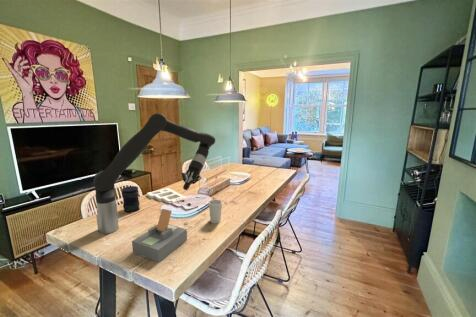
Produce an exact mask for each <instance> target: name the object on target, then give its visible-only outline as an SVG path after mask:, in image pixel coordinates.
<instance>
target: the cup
mask: <svg viewBox="0 0 476 317" xmlns="http://www.w3.org/2000/svg"><path fill="white" fill-rule="evenodd" d="M222 204H223V201H222V200H221V199H211V200H209V201H208V210H209V211H208V212H209V219H210V220H209V221H210V222H211V223H212V224H219V223H220V222H221V221H222V219H221V218H222V207H223V206H222Z"/></svg>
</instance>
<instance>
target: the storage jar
mask: <svg viewBox="0 0 476 317" xmlns="http://www.w3.org/2000/svg"><path fill="white" fill-rule="evenodd" d="M121 192H122V193H121V195H122V199H123V200H122V201H123V203H122V206H123V212H124V213H126V214H133V213H136V212H138V211H139V210H141V208H140V199H139V193H140V192H139V187H138V186H134V185H132V186H125V187H122V188H121Z"/></svg>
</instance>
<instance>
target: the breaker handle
mask: <svg viewBox="0 0 476 317" xmlns="http://www.w3.org/2000/svg"><path fill="white" fill-rule="evenodd" d="M171 214H172V210H171V209H166V208H161V211H160V215H159V218H158V222H157V224H158V226H157V230H156V233H159V234H161V233H162V232H164V231H165V230H167V228H168V224H169V223H170V219H171Z"/></svg>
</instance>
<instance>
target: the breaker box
mask: <svg viewBox="0 0 476 317" xmlns="http://www.w3.org/2000/svg"><path fill="white" fill-rule="evenodd" d="M157 226H158V223H157V224H155V225H154V226H152V227H151V228H149V229H148V231H146V232H144V233H143V234H142V235H140V236H138V237H136V238H135V239H133V240H131V245H132V248H131V249H132V253H133V254H135V255H139V256H141V257H144V258H146V259H149V260H152V261H155V262H157V263H160V262H161V261H163V260H164V259H165V258H166V257H167V256H169V255H170V254H171V253H173V252H174V251H175V250H176V249H177V248H178V247H180V246H181V245H183V244H184V243H185V242H186V241H187V240H188V230H187V229H186V228H184V227H180V226H176V225H172V224H168V228H167V230H165V231H164V232H162V233H161V234H159V233H156V230H157Z"/></svg>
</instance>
